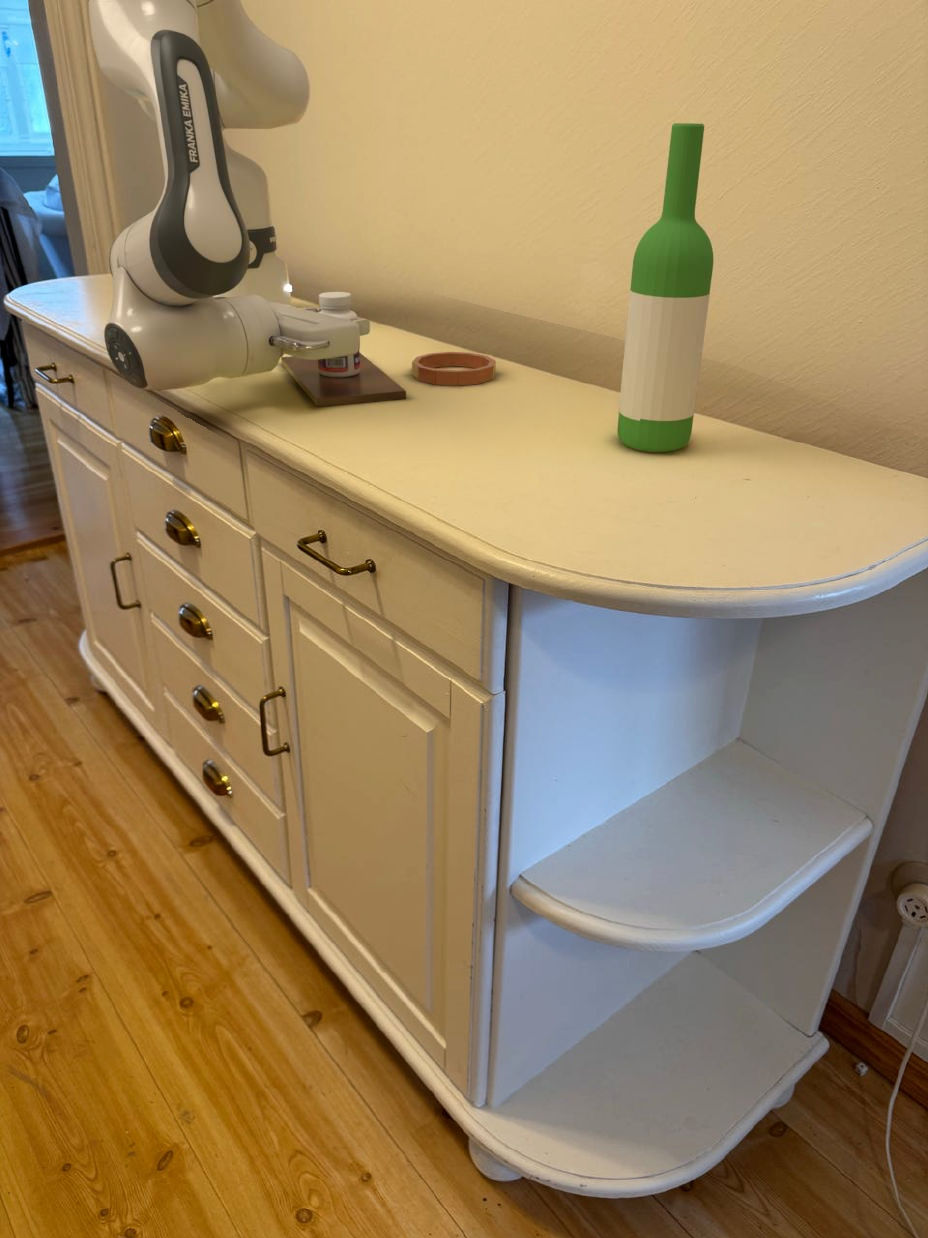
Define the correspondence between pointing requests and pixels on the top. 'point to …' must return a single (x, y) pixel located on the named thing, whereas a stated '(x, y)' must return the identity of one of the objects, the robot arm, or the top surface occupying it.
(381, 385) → the board
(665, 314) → the wine bottle
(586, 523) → the top surface
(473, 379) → the ring
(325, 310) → the pill bottle
